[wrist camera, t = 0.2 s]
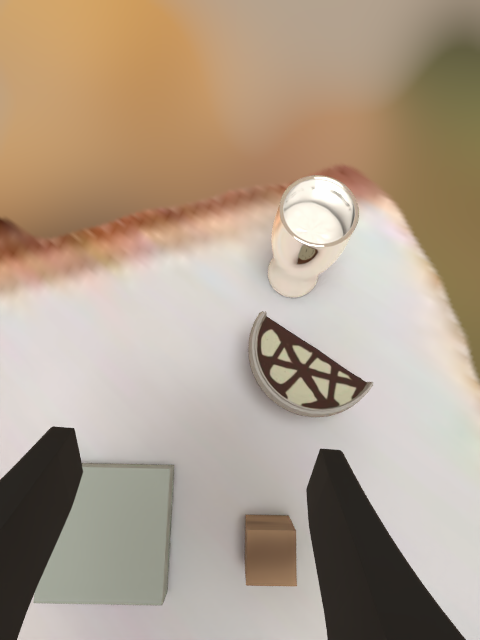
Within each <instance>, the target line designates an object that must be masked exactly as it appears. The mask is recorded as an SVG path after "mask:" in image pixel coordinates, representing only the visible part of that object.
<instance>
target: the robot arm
mask: <svg viewBox="0 0 480 640" xmlns="http://www.w3.org/2000/svg"><path fill="white" fill-rule="evenodd" d="M82 474H83V468H82V463H81V458H80V453H79V449H78V444H77V439H76V434H75V430H74V428H64V427H52V428H50V429H49V430H48V431H47V432H46V433H45V434H44V435H43V436H42V438H41V439H40V440H39V441H38V442H37V443H36V444H35V445H34V446H33V447H32V448H31V449H30V450H29V451H28V452H27V453H26V454H25V455H24V456H23V457H22V458H21V460H20V461H19V462H18V463H17V464H16V465H15V466H14V467H13V468H12V469H11V470H10V471H9V472H8V473H7V474H6V475H5V476H4V477H3V478H2V479H1V480H0V640H17V638H18V635H19V632H20V629H21V626H22V624H23V621H24V618H25V615H26V612H27V610H28V607H29V605H30V602H31V600H32V597H33V595H34V593H35V590H36V588H37V586H38V584H39V581H40V579H41V577H42V575H43V572H44V570H45V568H46V566H47V563H48V561H49V559H50V557H51V554H52V552H53V550H54V548H55V545H56V543H57V541H58V539H59V536H60V534H61V532H62V529H63V527H64V525H65V523H66V520H67V518H68V516H69V513H70V511H71V509H72V506H73V503H74V500H75V497H76V494H77V491H78V487H79V484H80V481H81V478H82ZM307 505H308V519H309V528H310V534H311V540H312V546H313V552H314V557H315V563H316V569H317V574H318V580H319V585H320V591H321V597H322V602H323V608H324V614H325V621H326V628H327V636H328V640H466V639H465V638H464V637H463V636H462V635H461V633H460V632H459V631H458V629H457V628H456V627H455V626H454V624H453V623H452V622H451V621H450V619H449V618H448V617H447V615H446V614H445V613H444V612H443V610H442V609H441V608H440V606H439V605H438V604H437V602H436V601H435V600H434V598H433V597H432V596H431V594H430V593H429V592H428V590H427V589H426V588H425V586H424V585H423V584H422V582H421V581H420V579H419V578H418V577H417V575H416V574H415V572H414V571H413V569H412V568H411V566H410V565H409V564H408V562H407V561H406V559H405V558H404V556H403V555H402V553H401V552H400V550H399V549H398V547H397V546H396V544H395V542H394V541H393V539H392V538H391V536H390V535H389V533H388V531H387V530H386V528H385V527H384V525H383V523H382V522H381V520H380V518H379V517H378V515H377V513H376V512H375V510H374V509H373V507H372V505H371V503H370V502H369V500H368V498H367V496H366V495H365V493H364V491H363V489H362V488H361V486H360V484H359V482H358V480H357V479H356V477H355V475H354V473H353V471H352V469H351V467H350V465H349V464H348V462H347V460H346V458H345V456H344V454H343V452H342V451H341V450H331V449H320V451H319V454H318V457H317V460H316V463H315V466H314V469H313V472H312V474H311V477H310V480H309V483H308V486H307Z"/></svg>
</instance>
